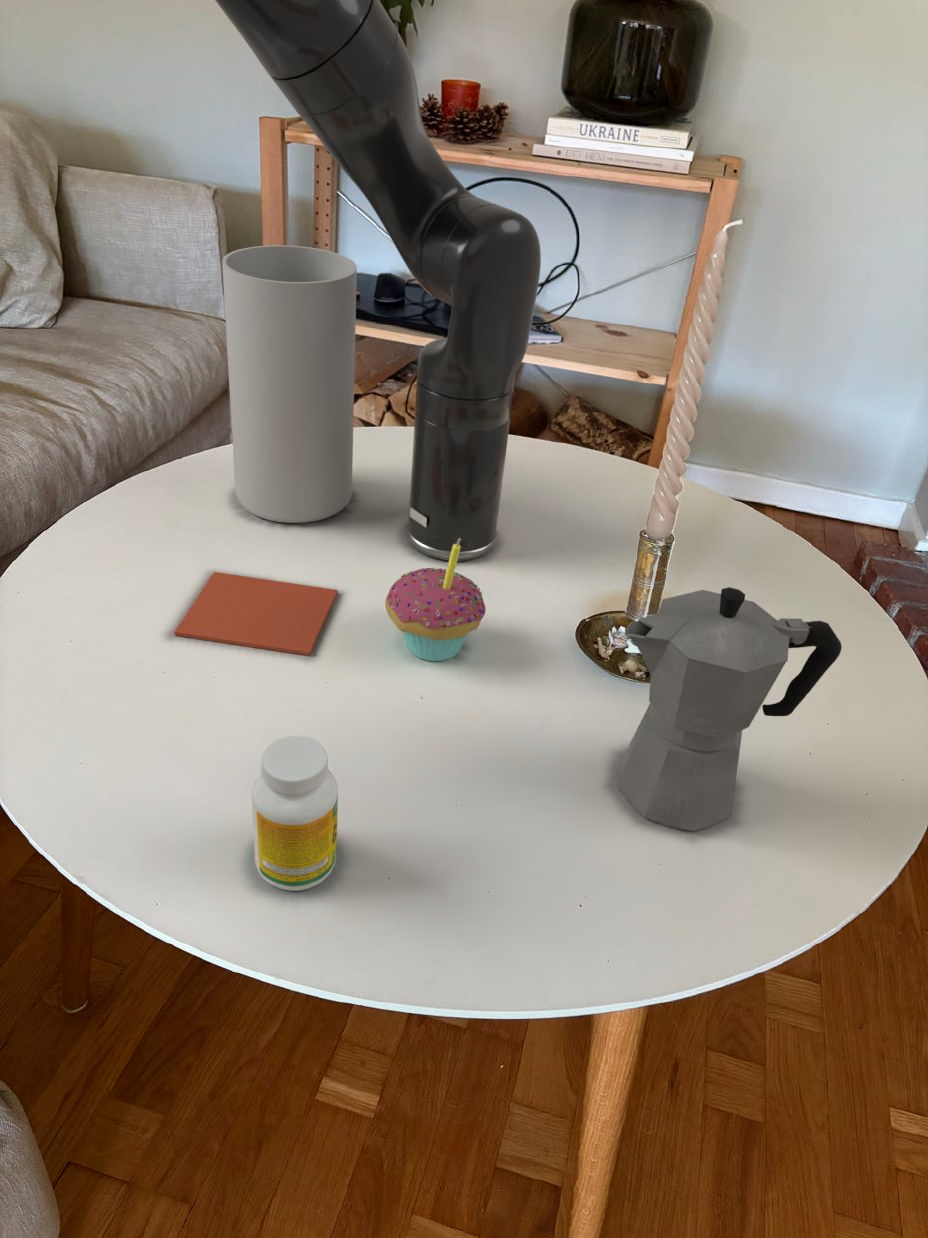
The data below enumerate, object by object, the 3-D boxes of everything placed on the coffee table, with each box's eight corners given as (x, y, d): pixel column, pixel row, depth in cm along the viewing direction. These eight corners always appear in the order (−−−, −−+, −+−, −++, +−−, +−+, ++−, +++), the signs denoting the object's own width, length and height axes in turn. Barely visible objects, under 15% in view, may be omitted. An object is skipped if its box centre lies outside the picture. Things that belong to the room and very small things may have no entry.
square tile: (214, 575, 91) (214, 571, 91) (337, 593, 90) (337, 589, 90) (174, 635, 83) (174, 631, 83) (309, 655, 82) (309, 652, 82)
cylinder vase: (261, 464, 111) (252, 238, 96) (365, 482, 109) (372, 256, 95) (217, 514, 101) (200, 270, 86) (331, 534, 99) (333, 290, 85)
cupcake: (499, 649, 85) (515, 532, 79) (432, 689, 80) (443, 567, 73) (431, 607, 90) (440, 493, 83) (363, 642, 85) (367, 523, 78)
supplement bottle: (246, 844, 65) (239, 738, 59) (321, 822, 67) (321, 719, 62) (269, 904, 61) (264, 798, 56) (348, 880, 63) (351, 774, 58)
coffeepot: (603, 835, 68) (653, 631, 58) (579, 744, 76) (620, 550, 66) (808, 834, 70) (892, 636, 60) (764, 746, 78) (832, 557, 67)
